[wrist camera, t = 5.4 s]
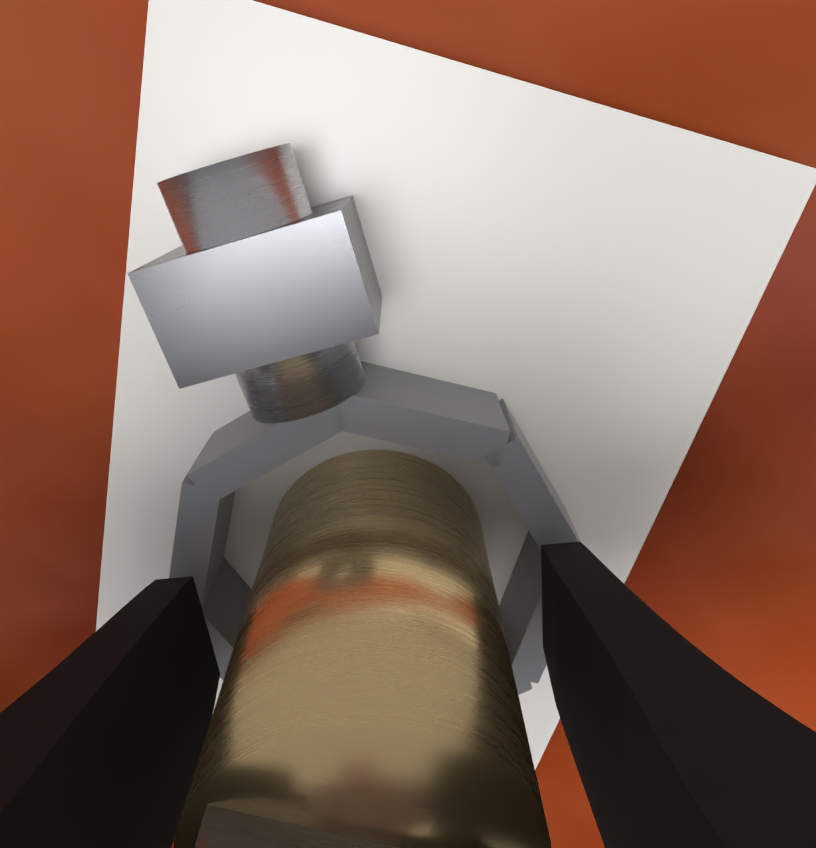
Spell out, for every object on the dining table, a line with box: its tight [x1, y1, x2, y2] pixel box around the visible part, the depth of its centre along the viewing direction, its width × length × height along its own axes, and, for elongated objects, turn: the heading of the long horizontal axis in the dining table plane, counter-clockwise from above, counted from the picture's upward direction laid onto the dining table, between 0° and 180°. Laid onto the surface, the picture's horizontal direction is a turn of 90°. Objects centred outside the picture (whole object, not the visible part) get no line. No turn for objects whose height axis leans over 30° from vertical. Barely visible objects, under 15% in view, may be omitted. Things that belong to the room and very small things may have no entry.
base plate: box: [96, 0, 816, 769], centre depth 12 cm, size 16×10×3 cm, turn 166°
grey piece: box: [127, 143, 382, 423], centre depth 9 cm, size 3×3×2 cm
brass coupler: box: [174, 450, 551, 848], centre depth 9 cm, size 4×4×7 cm
